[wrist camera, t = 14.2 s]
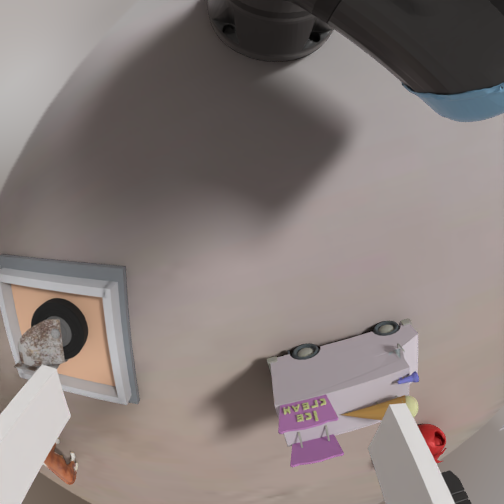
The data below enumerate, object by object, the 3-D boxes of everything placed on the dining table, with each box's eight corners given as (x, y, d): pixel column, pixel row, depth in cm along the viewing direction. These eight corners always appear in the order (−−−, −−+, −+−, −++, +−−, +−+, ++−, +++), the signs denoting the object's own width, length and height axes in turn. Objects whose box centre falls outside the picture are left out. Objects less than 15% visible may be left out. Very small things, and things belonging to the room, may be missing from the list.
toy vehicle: (405, 360, 43) (448, 424, 28) (279, 396, 44) (288, 475, 30) (403, 307, 41) (458, 367, 26) (264, 346, 42) (270, 426, 27)
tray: (2, 254, 38) (-12, 260, 35) (125, 266, 39) (115, 275, 35) (29, 373, 44) (19, 384, 41) (139, 400, 45) (133, 414, 41)
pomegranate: (392, 459, 50) (406, 492, 41) (390, 431, 47) (406, 468, 38) (436, 439, 49) (453, 470, 40) (438, 410, 46) (459, 443, 37)
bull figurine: (45, 420, 47) (28, 446, 39) (86, 463, 51) (74, 490, 43) (34, 422, 48) (17, 447, 40) (74, 464, 51) (61, 490, 43)
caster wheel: (90, 295, 41) (95, 360, 42) (23, 290, 38) (30, 352, 40) (77, 310, 35) (85, 381, 36) (3, 302, 32) (14, 371, 33)
